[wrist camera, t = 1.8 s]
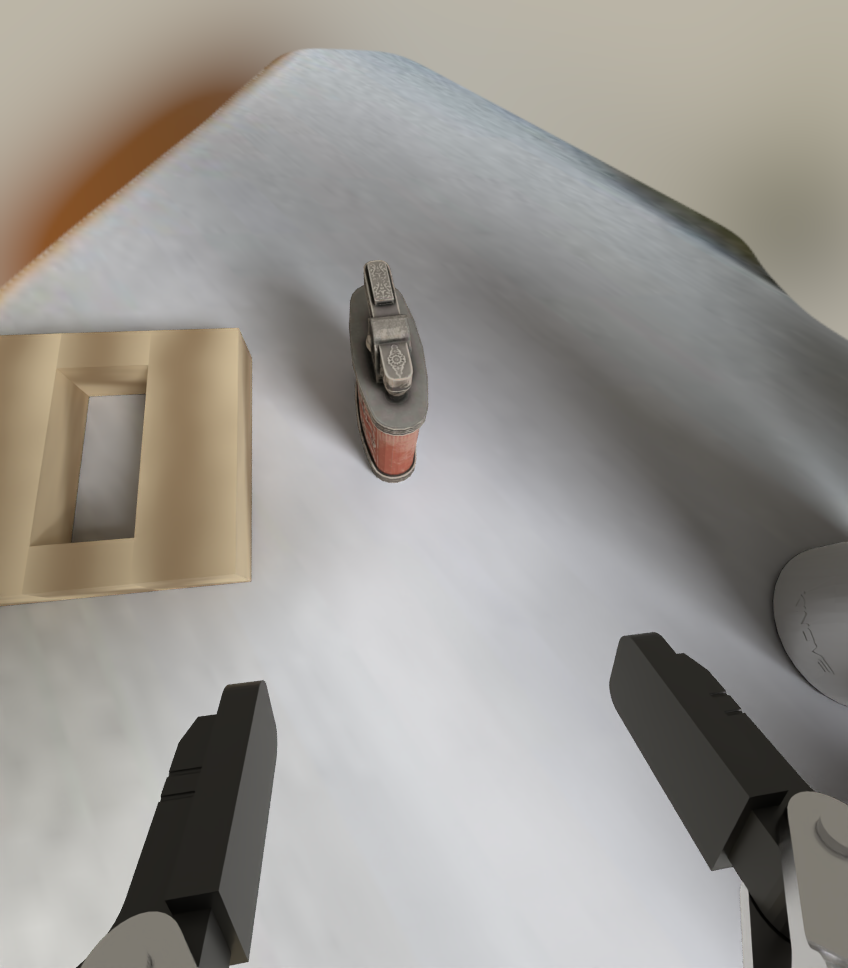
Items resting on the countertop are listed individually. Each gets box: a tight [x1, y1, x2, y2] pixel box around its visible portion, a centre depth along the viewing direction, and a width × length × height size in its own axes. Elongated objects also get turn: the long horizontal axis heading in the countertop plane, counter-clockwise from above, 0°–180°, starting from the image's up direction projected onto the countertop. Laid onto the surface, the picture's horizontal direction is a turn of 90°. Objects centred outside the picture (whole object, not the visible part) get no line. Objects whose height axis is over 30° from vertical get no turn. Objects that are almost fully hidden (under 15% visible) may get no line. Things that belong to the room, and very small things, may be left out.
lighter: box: [349, 260, 428, 483], centre depth 24 cm, size 8×3×10 cm, turn 12°
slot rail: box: [0, 328, 252, 606], centre depth 25 cm, size 14×14×3 cm
